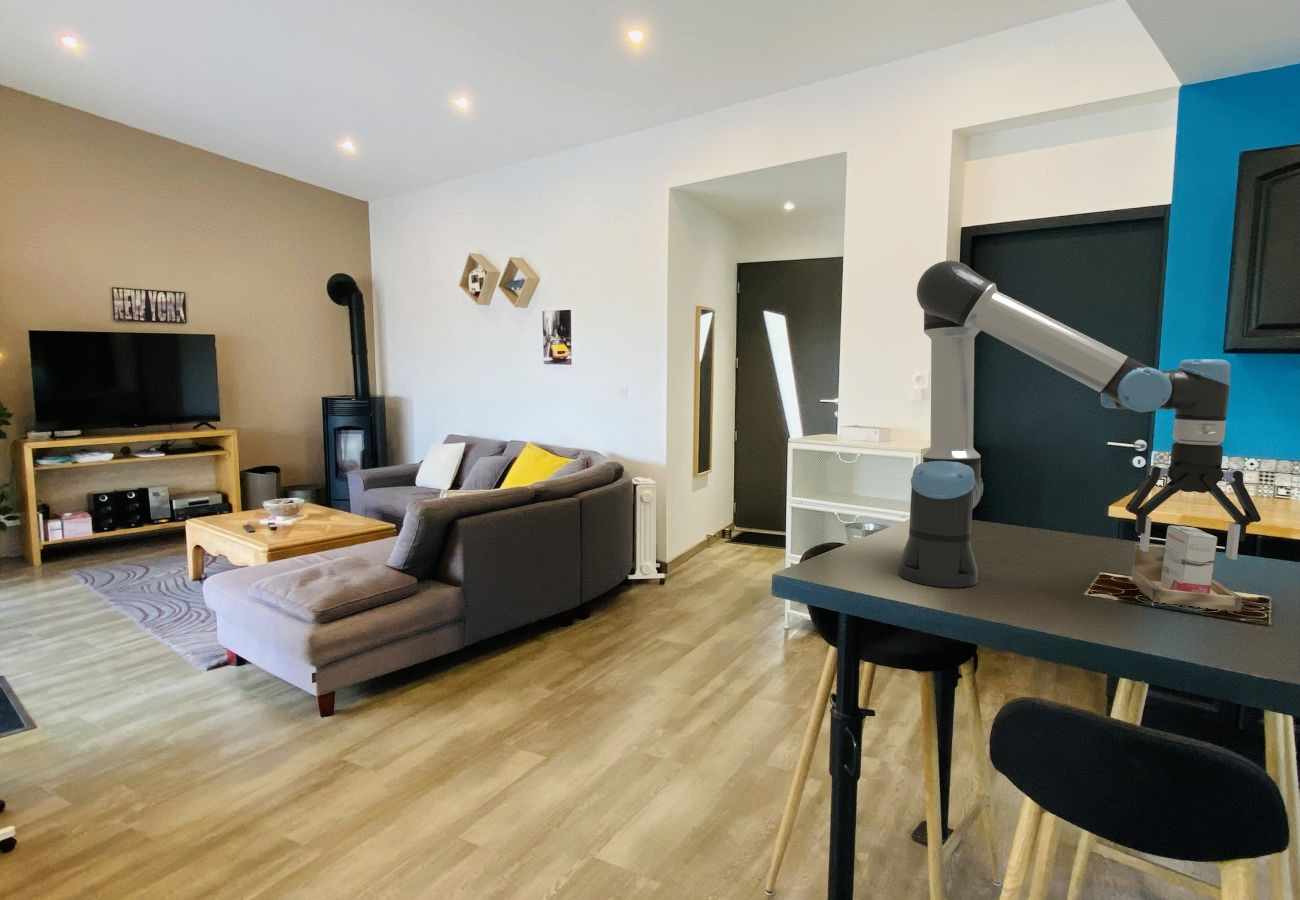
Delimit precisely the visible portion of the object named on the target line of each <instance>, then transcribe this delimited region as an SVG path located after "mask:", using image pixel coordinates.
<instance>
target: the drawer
mask: <svg viewBox="0 0 1300 900" xmlns="http://www.w3.org/2000/svg"><path fill="white" fill-rule="evenodd" d="M1164 553H1165V545H1155V544H1149V551H1148V552H1144V551H1142V550H1141V549H1140V543H1134V550H1133V562H1132V572H1131V583H1132V582H1133V583H1134V584H1135V585H1136V586H1137V587H1138V588H1139V589H1138V588H1137V587H1136V586H1135V585H1134V584H1133V583H1132V584H1133V585H1134V586H1135V587H1136V588H1137V589H1138V590H1139V591H1141V593H1143V595H1144V596H1146V597H1147V596H1148V597H1149V598H1150V599H1151V600H1152V601H1153V602H1158V603H1157V604H1162V603H1166V604H1165V605H1171V604H1177V605H1176V606H1180V605H1185V606H1184V607H1189V606H1193V607H1192V608H1198V607H1200V609H1207V608H1208V610H1216V609H1217V610H1218V611H1225V610H1227V611H1226V612H1234V611H1236V613H1241V612H1242V605H1243V604H1242V603H1243V598H1242V597H1240V596H1239V595H1237V594H1236V593H1235V592H1233V591H1232V590H1231V589H1229V588H1228V587H1225V585H1223V584H1221V583H1220V582H1219V581H1217V580H1215V579H1214V574H1215V563H1216V555H1217V551H1215V558H1214V565H1213V573H1212V581H1211V587H1210V594H1207V593H1197V592H1188V591H1178V590H1170V589H1168V588H1167V587H1165V586H1163V585H1162V584H1161V576H1162V568H1163V560H1164ZM1148 597H1147V598H1148ZM1149 598H1148V599H1149ZM1150 599H1149V600H1150ZM1151 600H1150V601H1151ZM1152 601H1151V602H1152ZM1153 602H1152V603H1153Z"/></svg>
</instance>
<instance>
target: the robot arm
mask: <svg viewBox="0 0 1300 900" xmlns="http://www.w3.org/2000/svg"><path fill="white" fill-rule="evenodd" d="M916 298H917V302H918V304H919V306H920V308H921V309H922V310H923V333H924V334H925V335H926V336H927V337H928V338H930V340H931V341H930V345H931V346H930V356H931V357H930V448H929V449H928V450H927V451H926V452H925V453H923V457H922V462H921V463H919V464H917V465H915V467H914V468H913V470H912V476H911V478H910V485H911V487H910V488H911V492H910V508H909V510H910V512H909V528H908V529H909V531H908V532H909V533H908V539H907V541H906V543H905V546H904V548H903V551H902V553H901V556H900V558H899V561H898V566H897V572H898V573H897V574H898V575H899V576H900V577H902V578H903V579H906V580H908V581H909V582H914V583H918V584H922V585H926V586H931V587H938V588H939V587H940V588H968V587H972V586H975V585H976V584H977V583H978V581H979V569H978V567H977V563H976V560H975V557H974V553H973V549H972V545H971V535H972V521H973V509H974V508H975V507H977V505H978V504H979V502H980V501H981V499H982V496H983V492H984V483H983V478H982V476H981V474H982V472H981V469H982V468H981V466H982V464H981V463H982V461H981V454H980V453H979V452H978V451H977V450H976V449H975V448H974V406H975V405H974V403H975V402H974V401H975V400H974V399H975V398H974V396H975V394H974V392H975V391H974V390H975V339H976V336H977V335H978V334H979V333H980V332H984V333H985V334H988V335H989V336H992V337H994V338H996V339H998V340H1000V341H1001V342H1003V343H1005V344H1006V345H1009V346H1011V347H1012V348H1015V349H1017V350H1018V351H1020V352H1022V353H1024V354H1026V355H1028V356H1030V357H1032V358H1034V359H1035V360H1037V361H1039V362H1042V363H1043V364H1045V365H1047V366H1049V367H1050V368H1052V369H1055V370H1056V371H1059V372H1060V373H1062V374H1064V375H1066V376H1068V377H1069V378H1071V379H1074V381H1077V382H1080V383H1081V384H1083V385H1085V386H1087V387H1089V388H1091V389H1092V390H1094V391H1097V392H1098V393H1100V405H1101V406H1102V407H1104V408H1107V409H1116V410H1123V409H1124V410H1125V409H1127V410H1131V411H1133V412H1136V413H1147V412H1152V411H1155V410H1166V411H1167V410H1168V411H1170V410H1172V411H1173V410H1174V413H1175V415H1174V424H1173V430H1172V431H1173V432H1172V439H1173V440H1174V441H1175V442H1173V444H1171V454H1170V464H1169V466H1168V467H1167V468H1165V467H1159V466H1157V465H1150V466H1149V468H1148V473H1147V477H1146V478H1145V479H1144V481H1143V482H1142V483H1141V485H1140V486H1139V488H1138V489H1137V490H1136V492H1135V493H1134V495H1132V497H1131V499H1130V500H1129V502H1128V503H1127V504H1126V505H1125V510H1126V511H1127V512H1129V513H1131V514H1133V515H1135V516H1136V517H1135V532H1136V533H1138V534H1140V536H1139V537H1140V538H1139V539H1140V540H1139V544H1140V549H1141V550H1142V551H1144V552H1148V551H1149V545H1150V539H1151V528H1152V527H1151V526H1152V517H1150V516H1148V515H1150V514H1151V513H1152V512H1153V511H1155V510H1156V509H1157V508H1158V507H1159V506H1160V505H1162V504H1163V503H1164V502H1166V501H1167V500H1168V499H1170V498H1171V497H1172V496H1173V495H1174V494H1177V493H1178V492H1179V491H1181V492H1184V493H1194V492H1196V493H1199V494H1205V493H1209V494H1210V495H1211V496H1212V497H1213V498H1214V499H1215V500H1216V501H1217V502H1218V503H1219V504H1220V506H1221V507H1222V508H1223V509H1224V510H1225V511H1226V512H1227V513H1228V515H1229V516H1230V517H1231V518H1232V519H1233V520H1234V521H1235V522H1234V521H1229V522H1228V529H1227V538H1226V539H1227V540H1226V549H1225V556H1226V558H1228V559H1230V560H1236V561H1237V559H1238V550H1239V542H1245V540H1246V535H1247V534H1246V533H1247V527H1248V526H1249V525H1250V524H1252V523H1259V522H1260V521H1261V520H1262V518H1261V515H1260V513H1259V512H1258V510H1257V508H1256V506H1255V504H1254V502H1253V500H1252V498H1251V495H1250V494H1249V492H1248V490H1247V488H1246V486H1245V484H1244V474H1243V472H1242V471H1240V470H1238V469H1231V470H1224V471H1223V469H1222V466H1223V454H1224V446H1223V445H1222V444H1220V443H1223V442H1224V440H1225V434H1226V425H1227V415H1228V406H1229V398H1230V390H1231V386H1232V384H1231V364H1230V362H1229V361H1228V360H1226V359H1219V358H1218V359H1217V358H1215V359H1213V358H1212V359H1210V358H1208V359H1207V358H1206V359H1204V358H1201V359H1197V358H1196V359H1193V358H1192V359H1183V360H1181V361H1180V363H1179V366H1178V367H1177V369H1168V370H1162V369H1158V368H1156V367H1150V366H1148V365H1145V364H1144V363H1142V362H1140V361H1138V360H1136V359H1134V358H1131V357H1129V356H1128V355H1126V354H1124V353H1122V352H1120V351H1118V350H1116V349H1114V348H1112V347H1110V346H1108V345H1106V344H1104V343H1102V342H1100V341H1098V340H1096V339H1094V338H1092V337H1090V336H1088V335H1086V334H1084V333H1082V332H1080V331H1078V330H1077V329H1074V328H1072V327H1071V326H1068V325H1066V324H1064V323H1062V322H1060V321H1058V320H1056V319H1055V318H1052V317H1050V316H1049V315H1046V314H1044V313H1042V312H1040V311H1039V310H1036V309H1034V308H1032V307H1031V306H1029V305H1026V304H1024V303H1022V302H1020V301H1018V300H1017V299H1014V298H1012V297H1010V296H1009V295H1006V294H1004V293H1002V292H1000V291H998V287H997V284H996V283H995V282H992V281H991V280H989V279H987V278H985V277H984V276H981V275H980V274H979V273H977V272H976V271H974V270H973V269H972V268H971V267H969V266H968V265H967V264H965V263H963V262H960V261H956V260H943V261H940V262H938V263H937V262H936V263H935V264H933V265H931V266H929V268H927V269H926V270H925V271H924V272H923V273H922V275H921V277H920V278H919V281H918V283H917V286H916ZM1165 475H1166V476H1167V477H1168V478H1169V479H1170V481H1168V483H1166V484H1165V485H1164V487H1162V489H1160V490H1159V491H1158V492H1157V493H1155V494H1154V495H1153V496H1152V497H1150V498H1149V499H1148V500H1147V501H1146V502H1144V501H1145V500H1146V499H1147V497H1148V495H1150V492H1151V491H1152V490H1153V489H1154V487H1155V486H1156V485H1157V483H1158V482H1159V479H1163V478H1164V476H1165ZM1223 478H1225V480H1226V482H1228V483H1229V484H1230V487H1231V489H1232V491H1233V493H1234V495H1235V496H1236V498H1237V500H1238V503H1239V504H1240V506H1241V509H1242V510H1243V513H1242V511H1240V509H1238V508H1237V506H1236V504H1235V503H1233V502H1232V501H1231V499H1230V498H1229V497H1228V496H1227V495H1226V494H1225V493H1224V491H1223V490H1222V489H1221V487H1220V486H1219V485H1218V483H1219V482H1220V481H1221V480H1223ZM1244 514H1245V515H1244Z"/></svg>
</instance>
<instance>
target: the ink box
mask: <svg viewBox="0 0 1300 900" xmlns="http://www.w3.org/2000/svg"><path fill="white" fill-rule="evenodd" d="M1165 538H1166V540H1165V545H1164V546H1165V553H1164V560H1163V568H1162V576H1161V584H1162V585H1163V586H1165V587H1167V588H1168V589H1170V590H1178V591H1188V592H1197V593H1207V594H1210V587H1211V581H1212V573H1213V565H1214V558H1215V559H1216V556H1215V551H1216V550H1217V543H1218V537H1217V536H1215V535H1213V534H1210V533H1207V532H1206V531H1203V530H1201V529H1199V528H1196V527H1189V526H1183V525H1168V526H1167V530H1166V537H1165ZM1216 552H1217V551H1216ZM1214 566H1215V565H1214Z"/></svg>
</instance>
